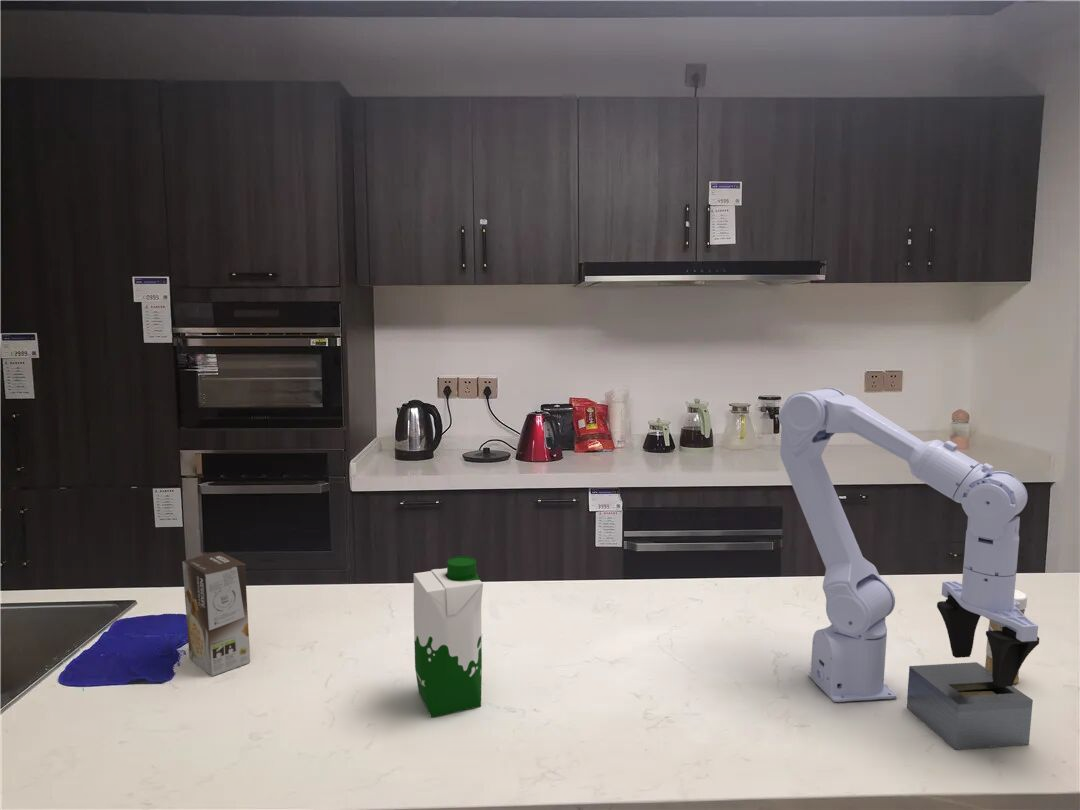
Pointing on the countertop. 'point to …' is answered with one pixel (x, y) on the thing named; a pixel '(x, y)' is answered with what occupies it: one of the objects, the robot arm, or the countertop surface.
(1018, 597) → the sprinkles bottle
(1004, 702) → the box
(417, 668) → the milk carton
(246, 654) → the coffee box
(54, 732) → the countertop surface
